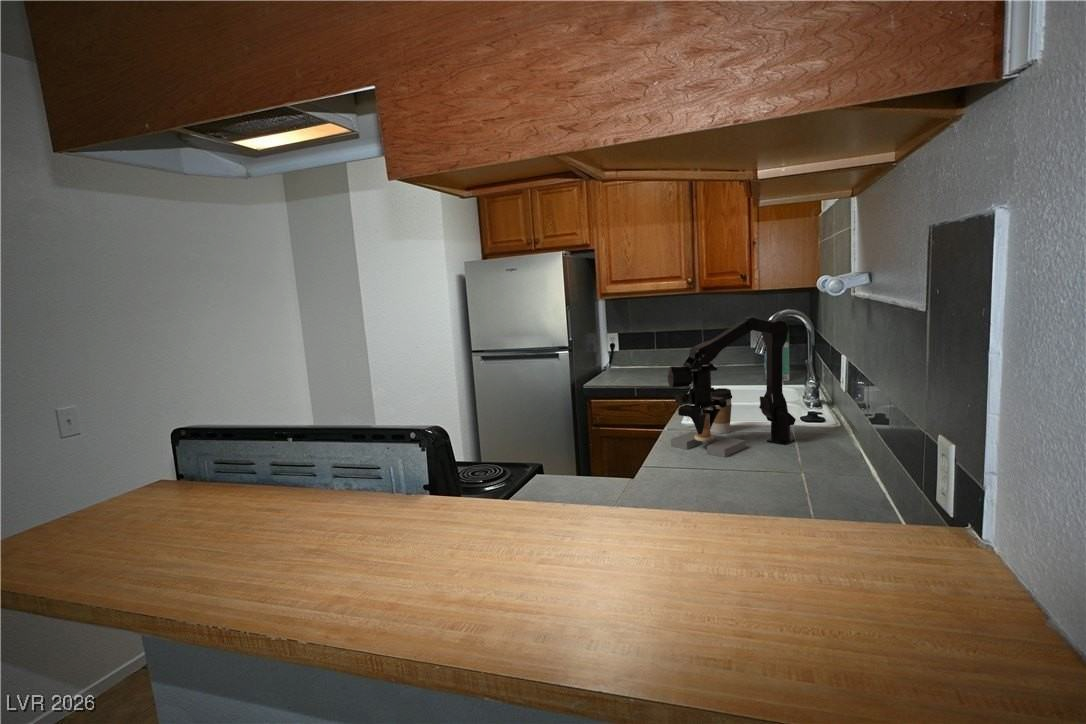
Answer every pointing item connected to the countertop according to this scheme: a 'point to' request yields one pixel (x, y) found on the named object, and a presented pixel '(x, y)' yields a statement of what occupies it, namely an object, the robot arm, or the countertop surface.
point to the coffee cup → (722, 412)
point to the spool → (705, 431)
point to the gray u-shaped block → (710, 444)
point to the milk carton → (784, 362)
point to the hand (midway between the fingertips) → (703, 432)
